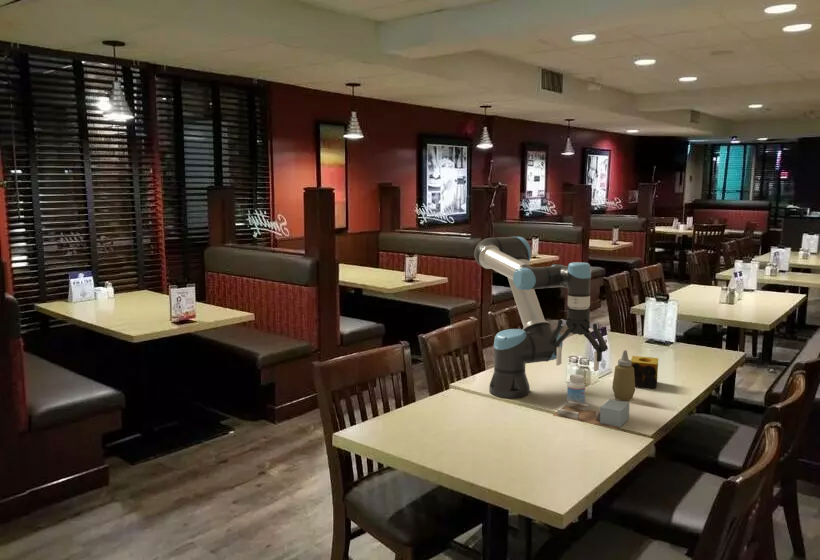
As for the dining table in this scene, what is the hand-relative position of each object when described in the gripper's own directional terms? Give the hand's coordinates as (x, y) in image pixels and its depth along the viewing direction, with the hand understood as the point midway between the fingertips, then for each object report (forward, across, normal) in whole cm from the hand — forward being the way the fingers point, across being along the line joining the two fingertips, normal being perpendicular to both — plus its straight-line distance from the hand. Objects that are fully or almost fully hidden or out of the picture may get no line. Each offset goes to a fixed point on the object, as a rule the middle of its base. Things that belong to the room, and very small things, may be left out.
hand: (577, 367), depth 227 cm
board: (+14, +9, -10) cm, 20 cm away
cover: (+13, +17, -10) cm, 23 cm away
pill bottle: (+15, 0, 0) cm, 15 cm away
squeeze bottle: (+15, +11, +18) cm, 26 cm away
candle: (+15, +12, +39) cm, 43 cm away
